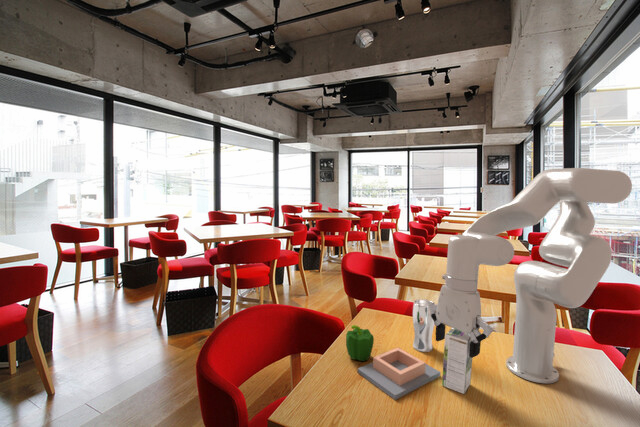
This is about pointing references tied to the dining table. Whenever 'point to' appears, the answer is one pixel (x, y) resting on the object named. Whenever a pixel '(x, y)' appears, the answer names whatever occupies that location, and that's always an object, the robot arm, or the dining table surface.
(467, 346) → the syrup box
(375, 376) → the socket board
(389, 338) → the dining table surface
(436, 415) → the dining table surface
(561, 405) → the dining table surface
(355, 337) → the bell pepper
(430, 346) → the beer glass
